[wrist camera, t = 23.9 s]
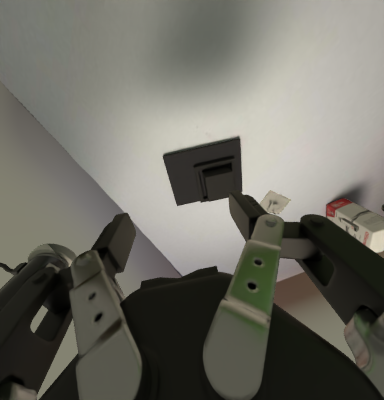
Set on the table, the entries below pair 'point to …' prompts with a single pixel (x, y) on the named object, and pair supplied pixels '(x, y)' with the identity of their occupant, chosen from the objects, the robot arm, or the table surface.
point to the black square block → (218, 182)
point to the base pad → (201, 169)
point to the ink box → (358, 223)
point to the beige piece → (274, 202)
